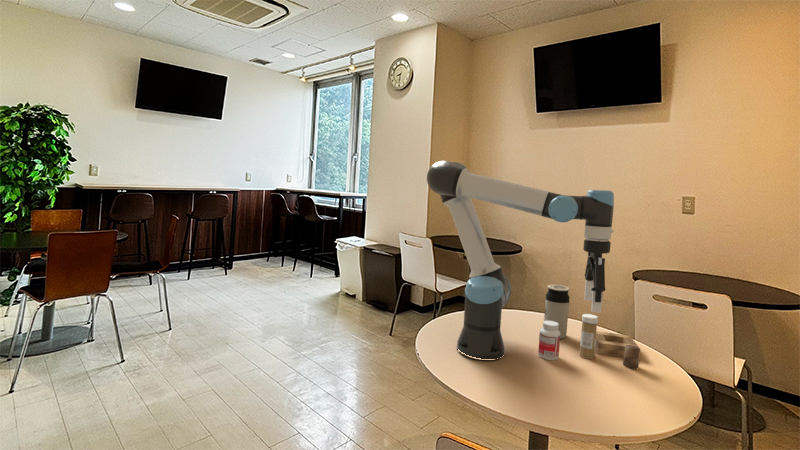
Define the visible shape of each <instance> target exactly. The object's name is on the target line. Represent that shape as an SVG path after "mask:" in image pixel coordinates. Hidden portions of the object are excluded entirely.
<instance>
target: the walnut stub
mask: <svg viewBox="0 0 800 450" xmlns="http://www.w3.org/2000/svg"><path fill="white" fill-rule="evenodd" d="M640 355H641V348H640V347H639V346H638V347H637V346H633V345H625V352H624V357H623V363H622V364H623V366H624V368H626V369H627V368H628V369H630V370H638V369H639V365H640V363H639V362H640ZM637 368H638V369H637Z"/></svg>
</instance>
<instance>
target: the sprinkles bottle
mask: <svg viewBox="0 0 800 450" xmlns="http://www.w3.org/2000/svg"><path fill="white" fill-rule="evenodd" d="M581 321H582V324H581V330H580V331H581V332H580V344H579V345H580V346H579V352H578V354H579V356H581V357H582V358H584V359H587V360H588V359H590V360H591V359H594V358H595V357H596V356H595V351H596V348H595V344H596V331H597V329H598V328H597V326H598V323H599V317H598V316H597V315H595V314H591V313H584V314H582V317H581Z"/></svg>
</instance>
